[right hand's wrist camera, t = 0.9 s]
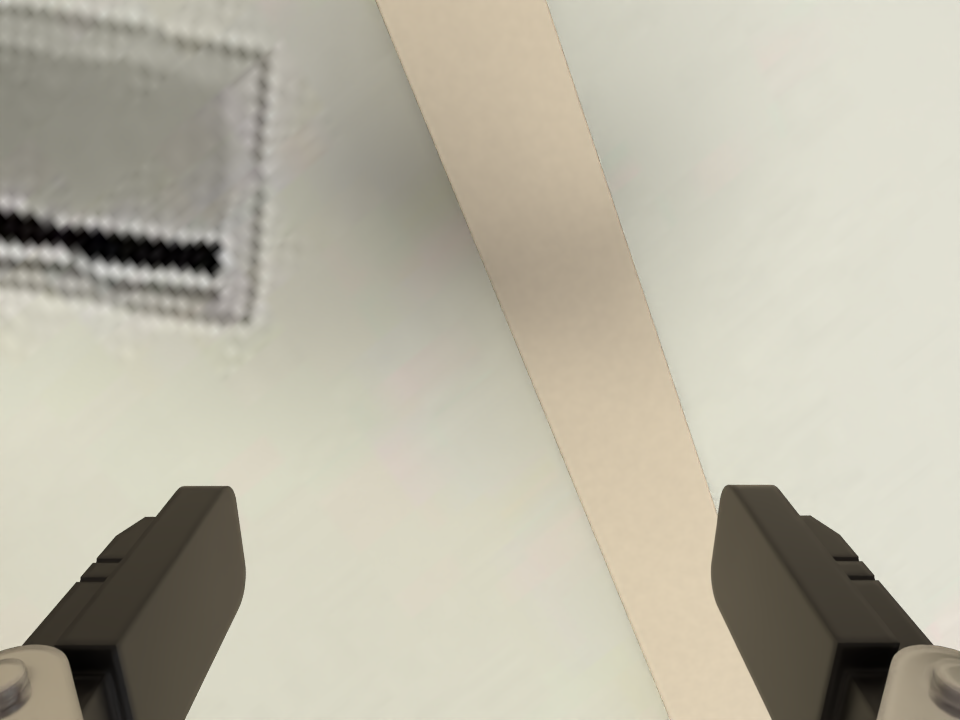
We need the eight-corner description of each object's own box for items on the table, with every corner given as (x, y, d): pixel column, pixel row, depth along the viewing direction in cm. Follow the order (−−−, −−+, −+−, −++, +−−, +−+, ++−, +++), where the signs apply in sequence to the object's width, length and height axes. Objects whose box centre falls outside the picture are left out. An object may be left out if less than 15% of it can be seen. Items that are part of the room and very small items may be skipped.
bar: (380, -25, 27) (344, -74, 20) (492, -77, 26) (497, -148, 19) (748, 888, 45) (798, 1034, 38) (819, 869, 44) (884, 1014, 37)
